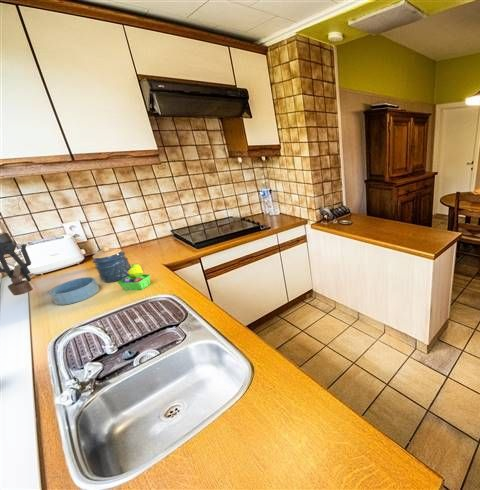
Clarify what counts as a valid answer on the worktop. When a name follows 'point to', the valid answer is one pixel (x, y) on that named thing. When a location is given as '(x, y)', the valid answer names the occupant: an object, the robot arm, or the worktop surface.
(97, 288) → the bowl
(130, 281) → the fruit basket
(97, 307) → the worktop surface
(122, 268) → the canister
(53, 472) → the worktop surface
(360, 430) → the worktop surface
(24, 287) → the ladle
